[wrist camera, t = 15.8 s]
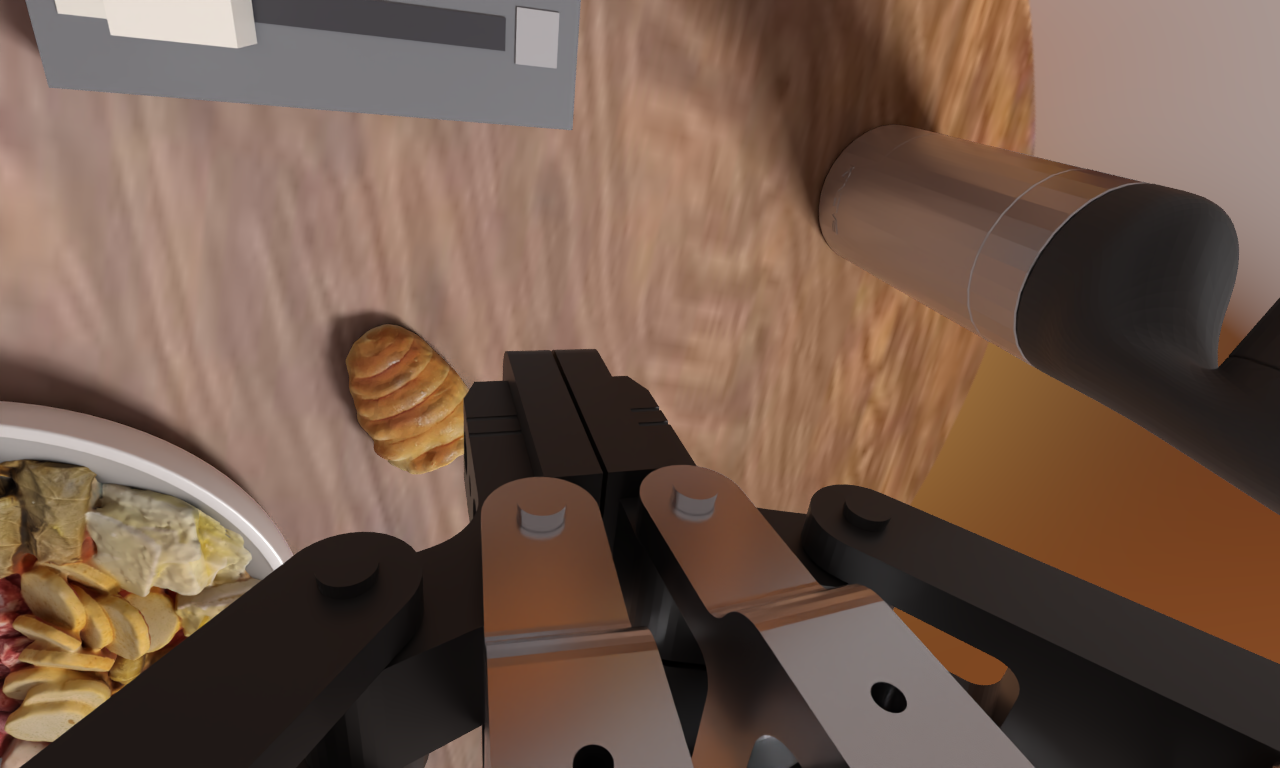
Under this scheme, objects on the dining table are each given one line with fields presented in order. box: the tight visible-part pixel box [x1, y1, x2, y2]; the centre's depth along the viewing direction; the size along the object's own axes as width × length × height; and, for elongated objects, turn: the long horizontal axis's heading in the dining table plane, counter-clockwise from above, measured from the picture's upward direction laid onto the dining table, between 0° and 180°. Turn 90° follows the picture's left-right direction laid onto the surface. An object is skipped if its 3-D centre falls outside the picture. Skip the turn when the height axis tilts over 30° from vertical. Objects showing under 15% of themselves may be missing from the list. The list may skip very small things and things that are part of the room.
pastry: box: [346, 324, 469, 474], centre depth 40 cm, size 9×7×4 cm
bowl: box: [0, 401, 293, 768], centre depth 38 cm, size 30×30×8 cm
